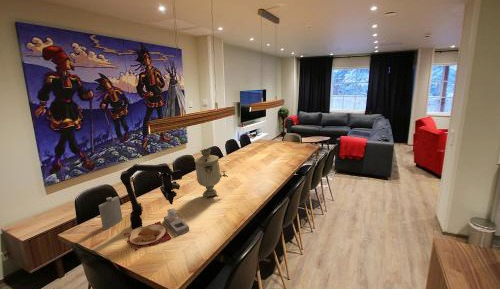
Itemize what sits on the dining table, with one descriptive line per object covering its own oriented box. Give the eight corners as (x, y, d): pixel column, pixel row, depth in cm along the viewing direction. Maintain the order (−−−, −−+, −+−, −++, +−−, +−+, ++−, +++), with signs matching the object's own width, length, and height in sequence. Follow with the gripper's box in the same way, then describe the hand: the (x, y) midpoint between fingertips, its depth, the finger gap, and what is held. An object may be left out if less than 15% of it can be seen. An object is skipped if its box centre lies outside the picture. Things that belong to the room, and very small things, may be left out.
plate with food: (160, 223, 185) (159, 219, 185) (172, 239, 164) (171, 234, 164) (123, 236, 173) (123, 231, 172) (131, 254, 152) (130, 249, 151)
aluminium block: (170, 220, 181) (169, 212, 179) (168, 217, 184) (167, 210, 183) (176, 218, 183) (175, 210, 182) (174, 215, 187) (173, 208, 185)
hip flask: (120, 218, 194) (115, 192, 189) (124, 218, 193) (120, 193, 188) (102, 229, 179) (96, 202, 175) (106, 230, 178) (101, 203, 174)
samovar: (227, 202, 211) (223, 154, 202) (194, 203, 212) (189, 155, 203) (230, 187, 240) (227, 145, 231) (201, 188, 241) (197, 146, 232)
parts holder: (176, 235, 168) (176, 230, 167) (164, 220, 187) (163, 216, 186) (189, 230, 173) (188, 226, 172) (175, 216, 192) (175, 212, 191)
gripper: (182, 182, 180) (185, 203, 184) (173, 175, 196) (176, 195, 199) (166, 186, 175) (169, 208, 178) (158, 179, 190) (161, 199, 193)
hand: (169, 202), depth 187 cm, fingers open, 9 cm apart
